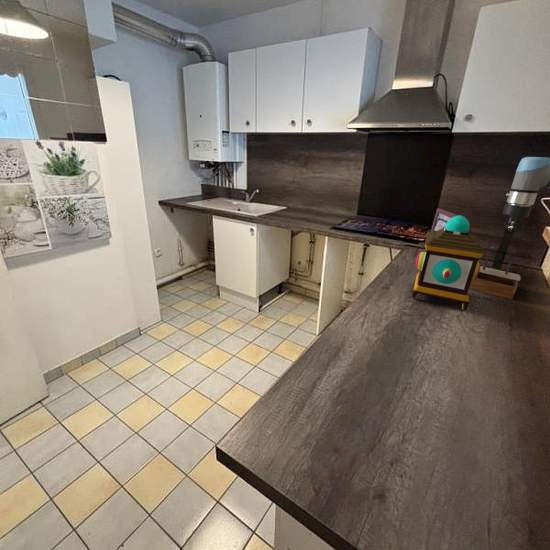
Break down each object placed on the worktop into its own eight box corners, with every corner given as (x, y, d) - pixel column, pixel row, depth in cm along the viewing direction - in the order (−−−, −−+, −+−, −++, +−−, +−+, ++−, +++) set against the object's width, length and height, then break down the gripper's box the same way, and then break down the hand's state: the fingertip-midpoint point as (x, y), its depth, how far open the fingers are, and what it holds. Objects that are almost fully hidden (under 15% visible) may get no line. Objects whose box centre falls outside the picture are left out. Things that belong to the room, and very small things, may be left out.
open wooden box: (512, 299, 107) (516, 288, 105) (463, 287, 116) (467, 276, 114) (513, 288, 117) (518, 277, 115) (469, 277, 126) (472, 267, 124)
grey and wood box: (519, 281, 104) (530, 253, 101) (469, 269, 113) (477, 244, 110) (518, 277, 115) (527, 252, 113) (472, 266, 124) (480, 243, 122)
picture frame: (423, 257, 149) (435, 208, 139) (442, 258, 148) (456, 208, 138) (439, 269, 133) (453, 215, 123) (460, 270, 133) (477, 216, 123)
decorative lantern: (406, 299, 105) (426, 216, 93) (411, 280, 121) (428, 207, 109) (471, 314, 97) (501, 225, 85) (467, 291, 113) (492, 214, 101)
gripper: (506, 201, 109) (486, 260, 118) (504, 205, 98) (482, 270, 107) (532, 203, 105) (509, 264, 114) (532, 208, 94) (507, 275, 103)
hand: (496, 267), depth 110 cm, fingers closed on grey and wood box, 2 cm apart
